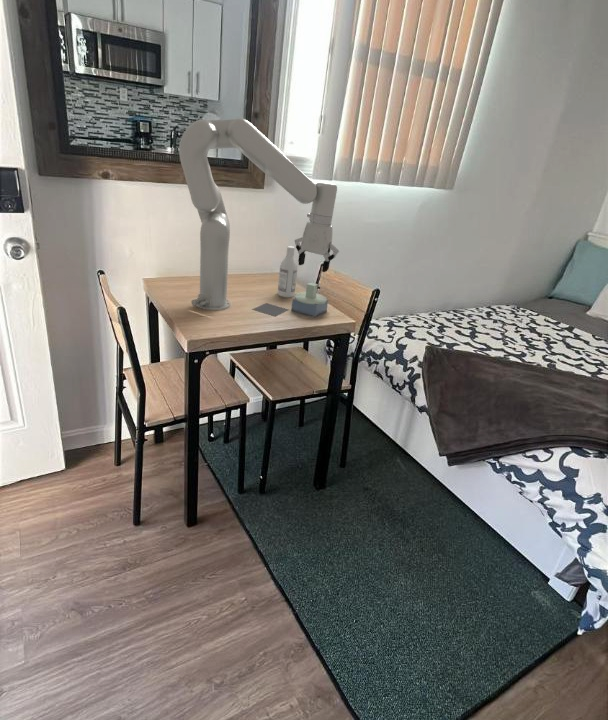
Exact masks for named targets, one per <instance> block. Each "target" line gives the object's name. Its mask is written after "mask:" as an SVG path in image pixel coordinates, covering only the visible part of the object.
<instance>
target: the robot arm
mask: <svg viewBox="0 0 608 720" xmlns="http://www.w3.org/2000/svg"><path fill="white" fill-rule="evenodd" d="M219 149H237V150H238V151H239V152H240V153H241V154H243V156H245V157H246V158H247V159H248V160H249V161H251V162H252V164H253V165H255V166H256V167H257V168H258V169H259V170H260V171H262V172H263V173H264V174H265V175H266V176H268V177H269V178H270V179H272V180H273V181H274V182H276V183H277V184H278V185H279V186H281V188H283V190H285V191H286V192H287V193H288V194H290V196H292V197H293V198H294V199H295V200H296V201H297V202H299V203H300V204H303V205H304V204H305V205H306V204H307V205H308V204H311V203H312V204H311V209H310V213H307V214H306V216H307V218H308V219H309V221H307V222H306V224H305V227H304V230H303V234H302V237H299V238H296V239H294V243H295V249H296V250H297V254H298V260H297V261H298V266H303V265H305V261H306V252H309V253H311V254H314V255H315V254H316V255H320V256H323V258H324V261H323V265H322V269H321V271H322V273H325V272H328V271H329V268H330V264H331V261H332V260H333V259H335V258H336V256H337V255H338V254H339V253H340V250H339V249H338V248H337V247H336V246H335V245H334V244H333V243H332V242H333V225H332V221H333V215H334V209H335V203H336V198H337V193H338V185H337V184H335V183H333V182H329V181H324V180H323V181H322V180H319V181H318V180H314V179H310V178H309V177H308V176H307V174H305V173H303V171H302V170H300V169H299V168H298V167H297V166H296V165H295V164H294V163H293V162H292V161H291V160H290V159H289V158H288V157H287V156H286V155H285V154H284V153H283V152H282V150H280V149H279V148H278V147H277V146H276V145H275V144H274V143H273V142H272V141H270V139H268V138H267V137H266V136H265V134H263V133H262V132H261V131H260V130H258V129H257V127H256V126H254V125H253V123H251V122H250V121H248V120H247V119H246V118H243V117H240V118H239V117H237V118H235V119H219V120H218V119H216V120H215V119H214V120H213V119H212V120H210V119H209V120H206V119H199V120H195V121H194V122H192V123H191V124H190V125H189V126H188V127H187V128H186V130H185V131H184V132H183V134H182V136H181V139H180V141H179V147H178V154H179V160H180V164H181V168H182V171H183V174H184V177H185V178H184V179H185V182H186V185H187V188H188V191H189V196H190V198H191V202H192V204H193V207H194V208H195V209H196V210H197V213H198V215H199V219H200V222H201V226H200V232H199V233H200V234H199V235H200V236H199V237H200V239H199V241H200V242H199V243H200V245H199V246H200V256H199V257H200V258H199V259H200V261H199V262H200V263H199V265H200V266H199V269H200V270H199V293H198V294H197V295H198V296H197V298H195V299H193V300H191V302H190V303H191V305H192V306H196V307H197V308H200V309H202V310H206V311H224V310H227V309H229V308H230V307H231V302H230V301H229V300H228V299H227V296H228V295H227V292H228V270H229V250H230V249H229V248H230V237H231V236H230V235H231V234H230V233H231V232H230V231H231V230H230V228H231V227H230V221H229V217H228V214H227V210H226V207H225V203H224V201H223V197H222V193H221V190H220V188H219V186H218V184H216V183H215V180H214V178H213V174H212V170H211V166H210V163H209V160H208V152H209V151H210V150H219ZM331 251H332V254H330V253H331Z"/></svg>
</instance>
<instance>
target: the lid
mask: <svg viewBox="0 0 608 720" xmlns="http://www.w3.org/2000/svg"><path fill="white" fill-rule="evenodd" d="M318 286H319V284H318V283H314V282H308V283H306V289H305V291H301V292H297V293H295V294H294V298H295V299H296V300H297V301H299V302H302V303H305V304H312V305H320V304H324V303H326V300H327V299H328V298H327V297H326V296H324V295H323V294H320V293H318Z"/></svg>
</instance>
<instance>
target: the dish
mask: <svg viewBox="0 0 608 720" xmlns="http://www.w3.org/2000/svg"><path fill="white" fill-rule="evenodd" d="M326 299H327V300H326V303H324V304H320V305H312V304H305V303H302V302H299V301H297V300H296V299H295V297H292V302H291V311H292V312H295V313H299V314H302V315H305V316H309V317H312V318H317V317H318V316H320V315H322V314H324V313H326V312H327V310H328V303H329V299H328V298H326Z"/></svg>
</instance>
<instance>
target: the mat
mask: <svg viewBox="0 0 608 720" xmlns="http://www.w3.org/2000/svg"><path fill="white" fill-rule="evenodd" d="M251 310H253V311H255V312H259V313H262V314H265V315H269V316H272V317H277V316H279V315H282V314H284V313H285V312H287V311H290V309H288V308H285V307H282V306H278V305H276V304H271V303H268V302H265V303H263V304H260V305H259V306H256V307H253V308H252V309H251Z"/></svg>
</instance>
